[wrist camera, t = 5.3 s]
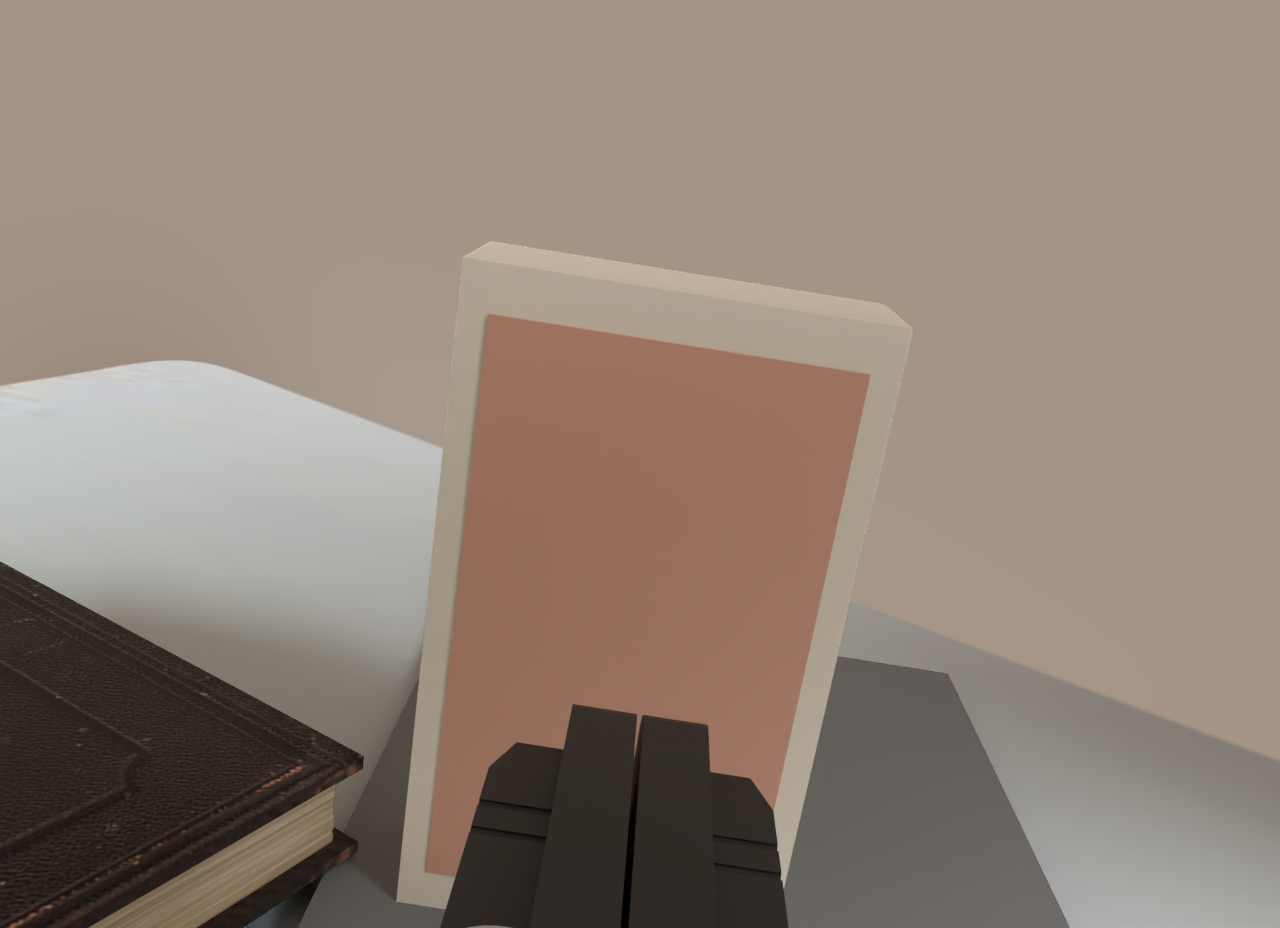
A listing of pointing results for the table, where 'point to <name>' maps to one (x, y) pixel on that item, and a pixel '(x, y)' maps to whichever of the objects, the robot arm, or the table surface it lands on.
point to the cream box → (641, 522)
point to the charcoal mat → (806, 822)
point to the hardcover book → (147, 781)
